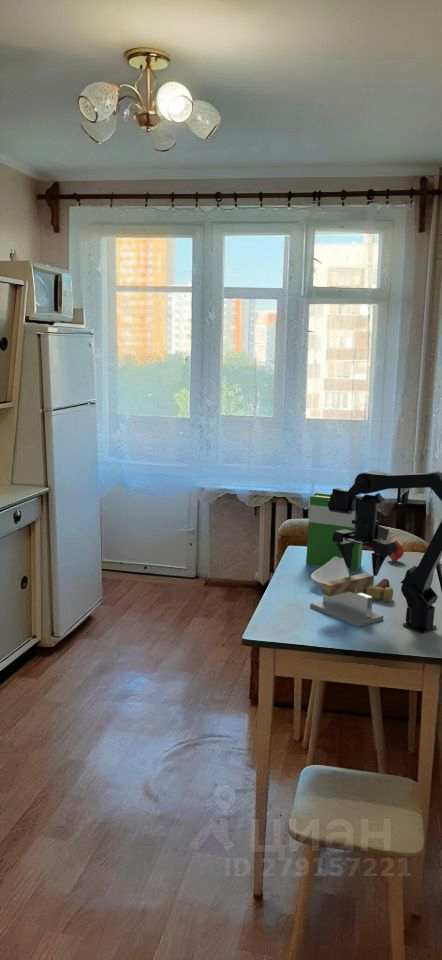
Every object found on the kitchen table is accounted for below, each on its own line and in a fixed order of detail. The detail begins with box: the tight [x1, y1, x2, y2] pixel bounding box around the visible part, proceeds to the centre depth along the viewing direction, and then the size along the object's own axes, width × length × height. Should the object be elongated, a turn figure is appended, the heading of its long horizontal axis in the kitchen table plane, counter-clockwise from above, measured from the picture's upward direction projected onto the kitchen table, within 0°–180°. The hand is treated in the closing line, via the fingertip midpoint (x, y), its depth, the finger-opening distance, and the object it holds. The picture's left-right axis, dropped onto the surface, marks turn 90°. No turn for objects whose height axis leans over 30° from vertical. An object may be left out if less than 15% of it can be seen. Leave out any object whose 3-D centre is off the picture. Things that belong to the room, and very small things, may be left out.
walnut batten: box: [321, 572, 375, 596], centre depth 197 cm, size 18×3×3 cm, turn 129°
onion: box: [387, 539, 404, 562], centre depth 253 cm, size 6×6×8 cm
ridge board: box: [309, 599, 384, 628], centre depth 198 cm, size 18×10×1 cm, turn 39°
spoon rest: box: [310, 556, 350, 590], centre depth 226 cm, size 24×12×7 cm, turn 159°
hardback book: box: [305, 492, 364, 573], centre depth 244 cm, size 18×7×24 cm, turn 69°
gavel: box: [356, 578, 394, 604], centre depth 219 cm, size 21×5×10 cm
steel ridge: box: [322, 581, 374, 619], centre depth 198 cm, size 16×2×6 cm, turn 39°
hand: (361, 571), depth 198 cm, fingers open, 9 cm apart
